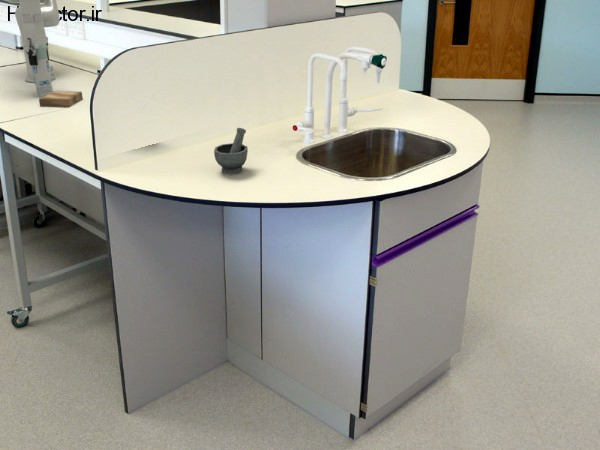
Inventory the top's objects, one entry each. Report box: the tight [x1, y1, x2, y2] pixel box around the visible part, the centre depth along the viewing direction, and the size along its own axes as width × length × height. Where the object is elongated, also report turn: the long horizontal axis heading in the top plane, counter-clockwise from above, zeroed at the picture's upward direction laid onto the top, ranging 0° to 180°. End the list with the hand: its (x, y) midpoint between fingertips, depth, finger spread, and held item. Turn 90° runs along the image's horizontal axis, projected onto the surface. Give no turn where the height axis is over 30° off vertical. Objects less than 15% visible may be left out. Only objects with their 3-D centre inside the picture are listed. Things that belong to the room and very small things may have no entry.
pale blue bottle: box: [32, 45, 54, 98], centre depth 285 cm, size 6×6×20 cm
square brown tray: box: [38, 90, 84, 108], centre depth 278 cm, size 12×12×3 cm
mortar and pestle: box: [213, 127, 249, 176], centre depth 207 cm, size 11×9×12 cm
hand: (39, 62), depth 284 cm, fingers open, 9 cm apart
